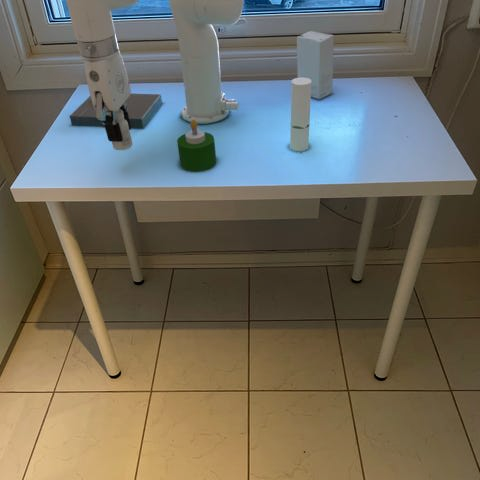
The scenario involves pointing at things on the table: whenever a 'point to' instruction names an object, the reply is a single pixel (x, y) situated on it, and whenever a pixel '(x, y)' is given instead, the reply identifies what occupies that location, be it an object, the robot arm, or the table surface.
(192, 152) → the candle
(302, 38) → the cosmetic box
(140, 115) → the plate
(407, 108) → the table surface
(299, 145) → the tube
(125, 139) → the pill bottle
